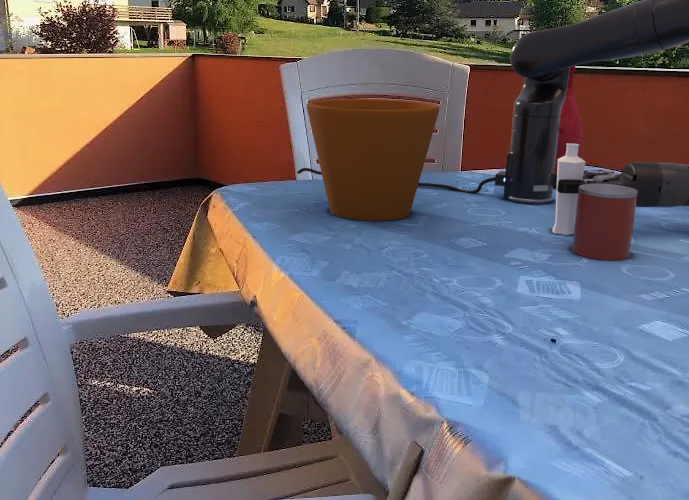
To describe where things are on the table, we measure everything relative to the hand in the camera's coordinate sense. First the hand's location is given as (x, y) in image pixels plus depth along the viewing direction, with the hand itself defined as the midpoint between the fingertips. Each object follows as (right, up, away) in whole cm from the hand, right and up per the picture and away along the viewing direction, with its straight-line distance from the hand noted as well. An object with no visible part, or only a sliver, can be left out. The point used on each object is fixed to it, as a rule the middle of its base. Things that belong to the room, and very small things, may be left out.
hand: (554, 182), depth 119 cm
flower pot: (-30, -4, +14) cm, 34 cm away
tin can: (+4, -12, -9) cm, 15 cm away
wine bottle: (+13, +4, +44) cm, 46 cm away
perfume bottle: (+2, -8, +2) cm, 9 cm away
